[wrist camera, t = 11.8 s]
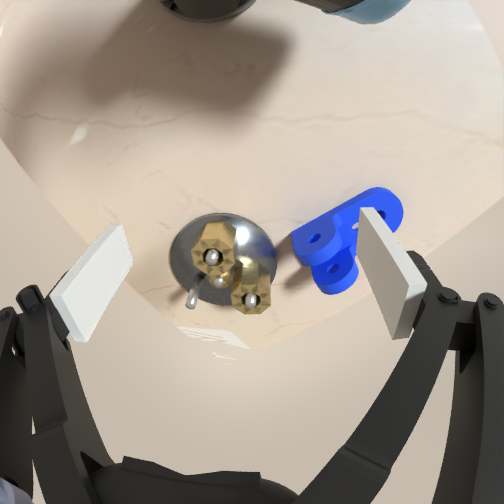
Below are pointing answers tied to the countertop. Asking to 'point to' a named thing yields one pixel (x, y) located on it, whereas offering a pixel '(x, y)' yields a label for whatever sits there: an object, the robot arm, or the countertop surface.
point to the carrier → (238, 276)
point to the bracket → (341, 238)
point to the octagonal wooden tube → (215, 246)
